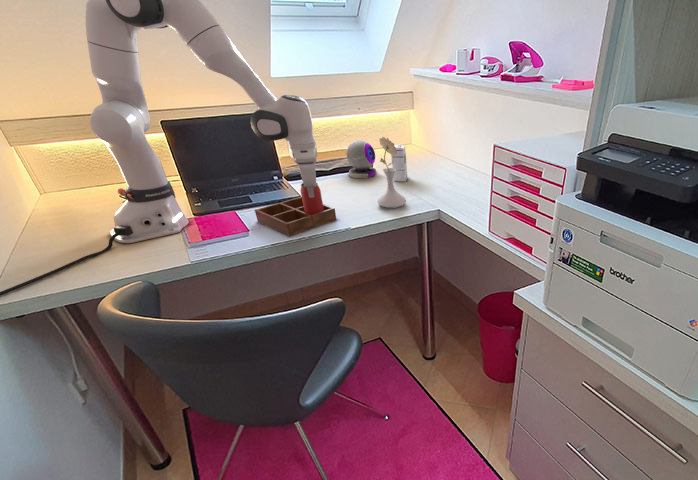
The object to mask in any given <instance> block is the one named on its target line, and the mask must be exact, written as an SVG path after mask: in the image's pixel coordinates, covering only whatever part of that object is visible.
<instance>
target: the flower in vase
mask: <svg viewBox="0 0 698 480" xmlns="http://www.w3.org/2000/svg"><path fill="white" fill-rule="evenodd" d="M378 140H379V144H380V146H381V147H382V149H383V150H384V155H383V158H382V157H380V160H379V162H380V163H382V164H383V165H385V166H386V168H383V169H382V171H383V173H384V175H385V177H386V181H387V189H386V191H384V192H383V193H382V194H381V195H380V196H379V197H378V198H377V205H379V206H380V207H383V208H387V209H394V208H395V209H396V208H400V207H402V206H405V204H406V203H407V199H406V197H405V196H404V195H403V194H401V193H400V192H398V191H397V190H396V189H395V185H394V180H393V177H394V173H395V171H396V169H393V168H392V167H389V166H390V165H391V166H392V163H393V162H394V161H393V162H392V161H391V162H390V163H389V164H387V162H386V154H387V153H388V154H389V155H396V154H397V153H396V152H397V149H396V147H395V146H394V145H395V143H394V142H392V140H390V139H389V137H385V136H382V137H380V138H379V139H378Z"/></svg>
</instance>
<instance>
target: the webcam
mask: <svg viewBox="0 0 698 480" xmlns="http://www.w3.org/2000/svg"><path fill="white" fill-rule="evenodd" d="M346 160H347V162H348V163H349V165H350V166H351V167H352V168H350V169H349V171H348V175H349V176H350V177H352V178H356V179H368V178H371V177H373V176H375V175H376V173H377V169H376V168H374V167H373V165H374V164H375V162H376V152H375V149H374V147H373V146H372V144H370V143H369V142H368V141H365V140H361V139H360V140H359V139H358V140H355V141H353V142H351V143H350V144H349V145H348V146H347V149H346Z"/></svg>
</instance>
